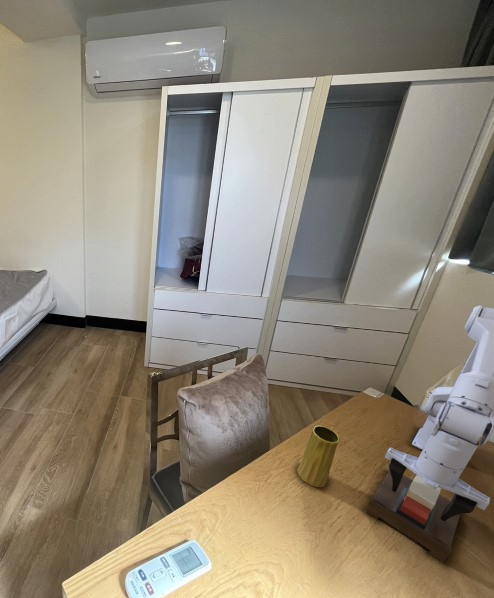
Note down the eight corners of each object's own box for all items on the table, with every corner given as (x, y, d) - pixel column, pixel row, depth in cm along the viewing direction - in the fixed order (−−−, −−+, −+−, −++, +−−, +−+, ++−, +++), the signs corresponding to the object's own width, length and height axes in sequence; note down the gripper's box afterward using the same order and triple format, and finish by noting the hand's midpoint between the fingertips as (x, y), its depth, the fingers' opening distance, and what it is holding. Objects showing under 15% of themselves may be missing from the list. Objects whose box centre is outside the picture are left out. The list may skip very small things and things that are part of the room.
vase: (299, 482, 75) (313, 440, 70) (295, 462, 81) (308, 421, 75) (329, 491, 73) (346, 447, 68) (322, 469, 78) (338, 427, 73)
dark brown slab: (388, 473, 77) (393, 462, 75) (458, 513, 68) (466, 501, 66) (365, 512, 69) (371, 500, 67) (442, 563, 59) (451, 551, 58)
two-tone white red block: (408, 486, 72) (415, 473, 70) (435, 501, 68) (443, 488, 67) (395, 512, 66) (402, 498, 65) (423, 530, 63) (432, 516, 61)
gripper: (390, 443, 65) (369, 487, 70) (498, 497, 54) (464, 545, 59) (399, 428, 68) (379, 470, 74) (502, 475, 57) (470, 522, 63)
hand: (418, 502), depth 66 cm, fingers open, 7 cm apart
